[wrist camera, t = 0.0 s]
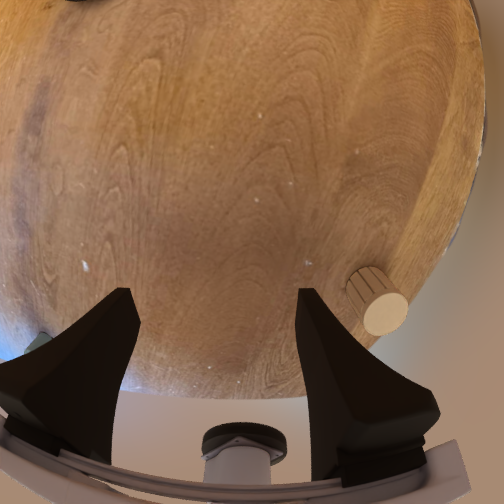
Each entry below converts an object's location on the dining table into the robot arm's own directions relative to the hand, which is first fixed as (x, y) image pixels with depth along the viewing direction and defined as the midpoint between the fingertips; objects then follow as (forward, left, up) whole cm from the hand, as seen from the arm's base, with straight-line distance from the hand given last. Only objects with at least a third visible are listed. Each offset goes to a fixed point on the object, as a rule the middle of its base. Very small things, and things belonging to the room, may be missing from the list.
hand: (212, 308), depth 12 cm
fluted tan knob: (+4, -11, -10) cm, 15 cm away
